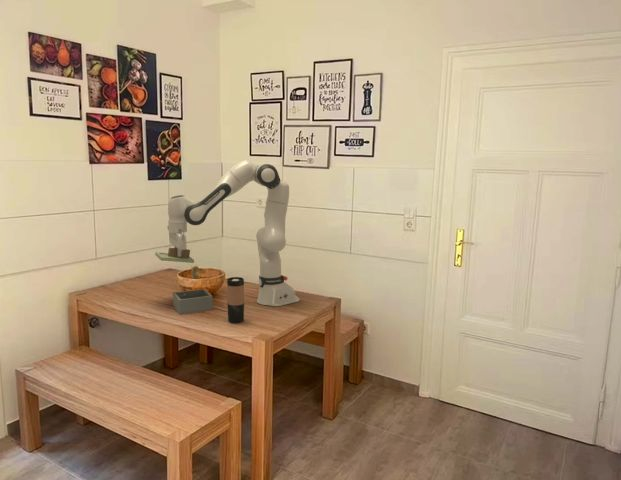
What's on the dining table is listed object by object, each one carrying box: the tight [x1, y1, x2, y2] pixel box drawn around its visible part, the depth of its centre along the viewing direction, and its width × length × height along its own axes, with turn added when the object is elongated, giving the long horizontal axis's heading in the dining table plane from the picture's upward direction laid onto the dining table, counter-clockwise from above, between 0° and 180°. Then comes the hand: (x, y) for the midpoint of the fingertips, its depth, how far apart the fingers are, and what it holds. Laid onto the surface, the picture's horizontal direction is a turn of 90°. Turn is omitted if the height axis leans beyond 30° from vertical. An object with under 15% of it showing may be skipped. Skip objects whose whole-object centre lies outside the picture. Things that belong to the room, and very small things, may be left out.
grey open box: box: [172, 288, 214, 315], centre depth 231 cm, size 16×14×8 cm
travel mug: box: [226, 276, 245, 324], centre depth 216 cm, size 8×8×20 cm
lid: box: [154, 247, 195, 264], centre depth 234 cm, size 16×14×6 cm
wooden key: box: [190, 265, 200, 280], centre depth 249 cm, size 3×3×18 cm
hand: (178, 255), depth 234 cm, fingers closed on lid, 2 cm apart
